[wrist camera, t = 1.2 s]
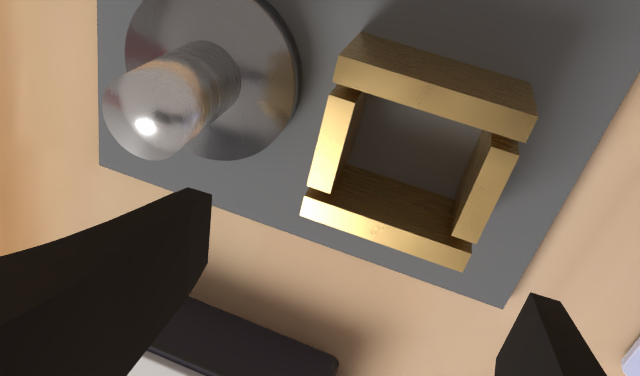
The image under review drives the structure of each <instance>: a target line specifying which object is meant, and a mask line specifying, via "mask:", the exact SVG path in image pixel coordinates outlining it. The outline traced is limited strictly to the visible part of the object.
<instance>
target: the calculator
mask: <svg viewBox="0 0 640 376" xmlns="http://www.w3.org/2000/svg"><path fill="white" fill-rule="evenodd" d="M338 365H339V362H338V360H337V359H336V358H335V357H334V356H332V355H330V354H327V353H325V352H322V351H320V350H318V349H315V348H313V347H310V346H308V345H305V344H303V343H301V342H298V341H296V340H293V339H291V338H288V337H286V336H284V335H281V334H279V333H276V332H274V331H271V330H269V329H266V328H264V327H262V326H259V325H257V324H254V323H252V322H249V321H247V320H245V319H242V318H240V317H237V316H235V315H232V314H230V313H228V312H225V311H223V310H220V309H218V308H215V307H213V306H210V305H208V304H206V303H203V302H201V301H198V300H196V299H193V298H191V297H189V296H188V298H187V299H186V300H185V302H184V303H183V304H182V306H181V307H180V308H179V310H178V311H177V312H176V313H175V315H174V316H173V317H172V319H171V320H170V321H169V323H168V324H167V325H166V326H165V328H164V329H163V330H162V332H161V333H160V334H159V335H158V337H157V338H156V339H155V340H154V342H153V343H152V344H151V346H150V347H149V348H148V349H147V351H146V352H145V353H144V354H143V356H142V357H141V358H140V360H139V361H138V362H137V363H136V365H135V366H134V367H133V369H132V370H131V371H130V372H129V374H128V375H127V376H335V375H336V372H337V368H338Z"/></svg>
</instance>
